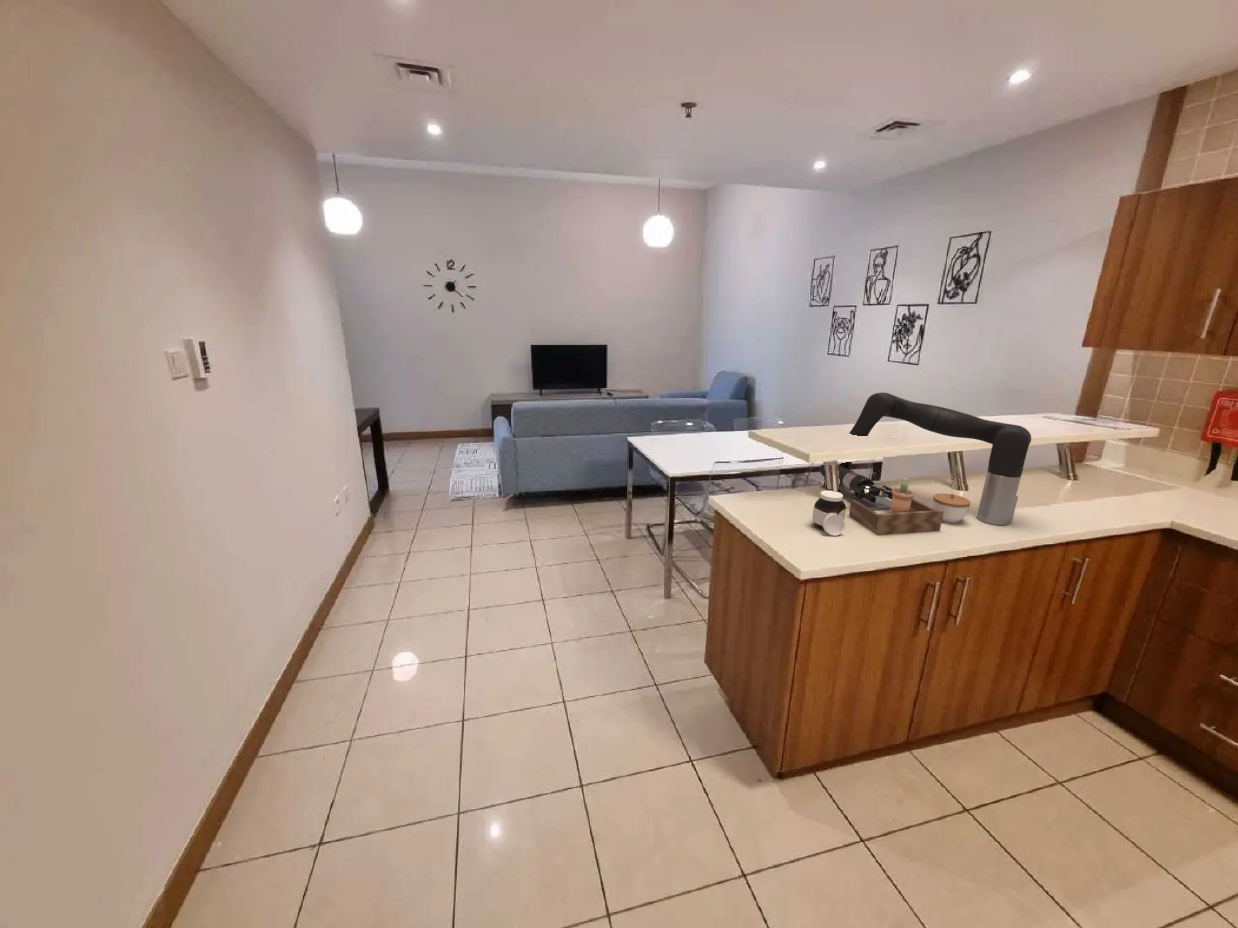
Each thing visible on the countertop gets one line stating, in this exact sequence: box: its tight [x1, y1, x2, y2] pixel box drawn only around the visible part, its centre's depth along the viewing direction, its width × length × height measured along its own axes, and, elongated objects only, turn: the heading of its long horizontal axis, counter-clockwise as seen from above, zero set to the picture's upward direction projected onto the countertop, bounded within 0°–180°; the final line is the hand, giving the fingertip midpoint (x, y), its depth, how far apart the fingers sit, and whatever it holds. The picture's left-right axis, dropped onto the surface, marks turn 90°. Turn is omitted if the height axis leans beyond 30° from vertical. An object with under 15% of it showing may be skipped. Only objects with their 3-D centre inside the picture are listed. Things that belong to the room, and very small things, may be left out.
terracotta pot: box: [889, 477, 915, 513], centre depth 166 cm, size 6×6×17 cm
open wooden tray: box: [848, 497, 944, 536], centre depth 170 cm, size 22×16×7 cm
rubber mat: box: [847, 496, 892, 512], centre depth 187 cm, size 14×12×1 cm
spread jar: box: [811, 490, 847, 537], centre depth 165 cm, size 12×11×12 cm
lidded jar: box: [931, 492, 971, 524], centre depth 173 cm, size 11×11×9 cm
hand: (886, 499), depth 174 cm, fingers open, 8 cm apart
